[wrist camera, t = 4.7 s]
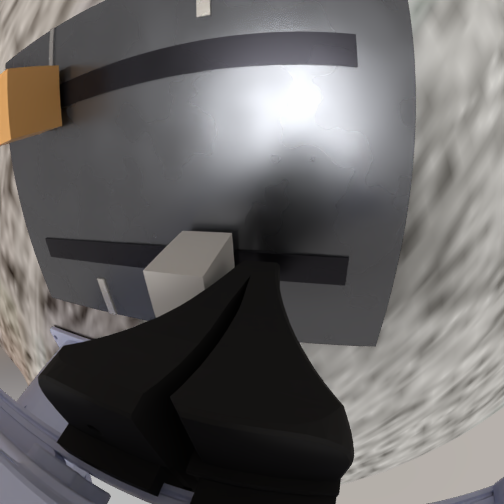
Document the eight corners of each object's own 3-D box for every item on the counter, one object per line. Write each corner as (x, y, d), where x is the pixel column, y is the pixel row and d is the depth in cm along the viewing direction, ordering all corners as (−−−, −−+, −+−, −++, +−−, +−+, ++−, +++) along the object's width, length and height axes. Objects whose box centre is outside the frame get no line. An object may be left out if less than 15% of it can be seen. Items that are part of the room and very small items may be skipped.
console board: (372, 324, 14) (375, 347, 12) (65, 285, 18) (51, 298, 16) (391, -19, 6) (401, -35, 5) (24, 61, 10) (4, 63, 9)
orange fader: (62, 125, 10) (10, 139, 7) (38, 134, 10) (-9, 149, 8) (59, 65, 8) (7, 68, 6) (35, 78, 9) (-13, 85, 6)
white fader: (237, 299, 12) (215, 351, 9) (192, 294, 12) (163, 341, 10) (231, 232, 11) (202, 276, 8) (182, 230, 11) (142, 270, 8)
